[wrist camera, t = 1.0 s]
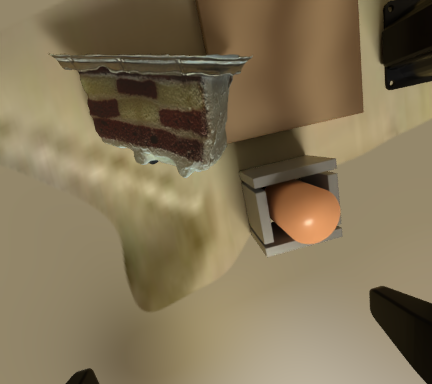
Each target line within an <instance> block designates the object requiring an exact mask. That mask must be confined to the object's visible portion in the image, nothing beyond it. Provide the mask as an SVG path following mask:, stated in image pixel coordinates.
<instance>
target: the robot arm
mask: <svg viewBox="0 0 432 384" xmlns="http://www.w3.org/2000/svg"><path fill="white" fill-rule="evenodd" d="M389 6H391V7H392V11H391V12H389V11H388V7H389ZM383 16H384V31H383V33H382V34H383V64H384V66H385V86H386V89H388V90H394V89H398V88H403V87H407V86H411V85H416V84H420V83H425V82H429V81H432V0H394V1H390V2H388V3H387V4H386V5H385V6H384V10H383ZM390 81H393V86H392V87H391V86H390ZM370 310H371V313H372V315H373V317H374V318H375V320H376V321H377V322H378V324H379V325H380V326H381V327H382V329H383V330H384V331H385V333H386V334H387V335H388V336H389V338H390V339H391V340H392V342H393V343H394V344H395V346H396V347H397V348H398V350H399V351H400V352H401V353H402V355H403V356H404V357H405V358H406V360H407V361H408V362H409V364H410V365H411V366H412V367H413V369H414V370H415V371H416V372H417V373H418V374H419V375H420V377H421V378H422V379H423V380H424V381H425V382H426V383H427V384H432V303H429V302H427V301H423V300H421V299H418V298H415V297H413V296H410V295H407V294H404V293H402V292H399V291H396V290H393V289H390V288H388V287H385V286H380V287H376V288H373V289H371V290H370ZM66 384H99V382H98V380H97V378H96V376H95V373H94V371H93V370H92V369H90V368H89V369H85V370H81V371H78V372H76V373H75V374H74V375H73V376H72V377H71V378H70V379H69V381H68V382H67V383H66Z"/></svg>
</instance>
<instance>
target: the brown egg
mask: <svg viewBox="0 0 432 384" xmlns="http://www.w3.org/2000/svg"><path fill="white" fill-rule="evenodd" d="M264 191H265V192H266V198H267V204H268V210H269V216H270V218H271V219H272V220H273V221H274V222H275V223H276V224H277V225H278V226H279V227H281V228H282V229H283V230H284V231H285V232H286V233H287V234H288V235H289V236H290V237H292V238H293V239H294V240H295V241H297V242H299V243H303V244H314V243H318V242H320V241H323V240H324V239H326V238H327V237H328V236H329V235H331V234H332V232H333V231H334V230H335V228H336V226H337V224H338V222H339V218H340V206H339V202H338V200H337V199H336V197H335V196H334V195H333V194H332V193H331V192H329V191H328V190H325V189H322V188H320V187H317V186H314V185H311V184H308V183H305V182H302V181H299V180H296V179H293V180H289V181H285V182H280V183H276V184H272V185H268V186H267V187H266V189H265V190H264Z"/></svg>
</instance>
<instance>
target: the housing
mask: <svg viewBox="0 0 432 384" xmlns="http://www.w3.org/2000/svg"><path fill="white" fill-rule="evenodd" d="M336 168H337V165H336V159H335V158H326V157H317V156H308V155H305V156H300V157H296V158H292V159H288V160H284V161H280V162H276V163H271V164H267V165H263V166H259V167H255V168H251V169H247V170H242V171H239V173H240V178H241V180H243V181H244V183H242V189H243V194H244V199H245V204H246V209H247V214H248V219H249V225H250V226H251V227H252V228H250V230H251V235H252V236H253V238H254V239H255V240H256V242H257V244H258V245H259V246H260V248H261V249H262V250H263V252H264V253H265V255H266V256H267V257H270V256H273V255H277V254H280V253H284V252H288V251H292V250H295V249H299V248H303V247H306V246H309V245H313V244H303V243H299V242H297V241H295V240H294V239H293V238H292V237H290V236H289V235H288V234H287V233H286V232H285V231H284V230H283V229H282V228H281V227H279V226H278V225H277V224H276V223H275V222H272V223H271V222H270V216H269V210H268V204H267V198H266V192H265V191H264V190H263V189H261V188H260V187H264V186H268V185H272V184H276V183H280V182H285V181H289V180H293V179H297V178H301V181H302V182H305V183H308V184H311V185H314V186H317V187H320V188H322V189H325V190H328V191H329V192H331V193H332V194H333V195H334V196H335V197H336V199H337V200H338V202H339V206H340V201H339V189H338V177H337V173H333V172H328V171H329V170H333V169H336ZM339 224H341V213H340V218H339V222H338V224H337V225H339ZM339 237H342V228H341V227H339V226H336V228H335V230H334V231H333V232H332V234H331V235H329V236H328V237H327V238H326V239H324V240H323V241H320V242H318V243H321V242H324V241H328V240H332V239H335V238H339ZM314 244H317V243H314Z"/></svg>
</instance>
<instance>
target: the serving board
mask: <svg viewBox="0 0 432 384" xmlns="http://www.w3.org/2000/svg"><path fill="white" fill-rule="evenodd" d="M195 2H196V7H197V12H198V17H199V21H200V26H201V31H202V36H203V41H204V46H205V51H206V55H211V54H219V55H230V54H235V55H240V57H241V56H243V57H244V56H247V57H250V56H252V55H253V57H252V58H251V59H249V60H248V61H247V62H246V63H245V64H244V66H243V67H242V70H241V73H240V74H235V75H233V81H232V82H231V85H230V87H229V96H228V111H227V122H226V126H225V131H226V136H227V144H228V143H232V142H237V141H241V140H245V139H250V138H254V137H258V136H263V135H267V134H271V133H276V132H280V131H284V130H289V129H293V128H297V127H302V126H306V125H311V124H315V123H319V122H324V121H328V120H332V119H337V118H341V117H345V116H350V115H354V114H358V113H363V92H362V72H361V52H360V32H359V11H358V0H195Z"/></svg>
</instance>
